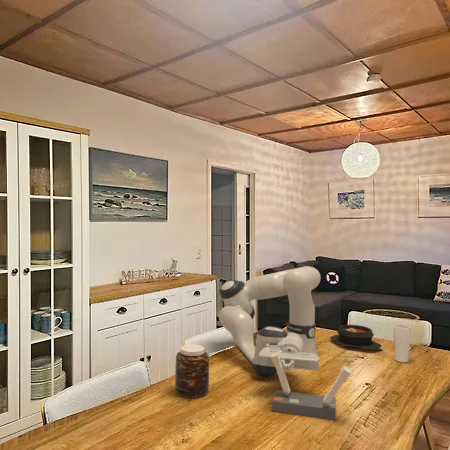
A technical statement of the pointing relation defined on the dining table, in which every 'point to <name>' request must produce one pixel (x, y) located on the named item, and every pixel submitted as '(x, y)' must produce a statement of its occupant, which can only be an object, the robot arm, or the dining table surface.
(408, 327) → the drinking glass
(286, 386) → the lever
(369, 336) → the casserole
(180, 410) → the dining table surface
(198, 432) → the dining table surface
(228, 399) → the dining table surface
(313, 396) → the panel
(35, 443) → the dining table surface
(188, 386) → the jar
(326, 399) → the on lever
